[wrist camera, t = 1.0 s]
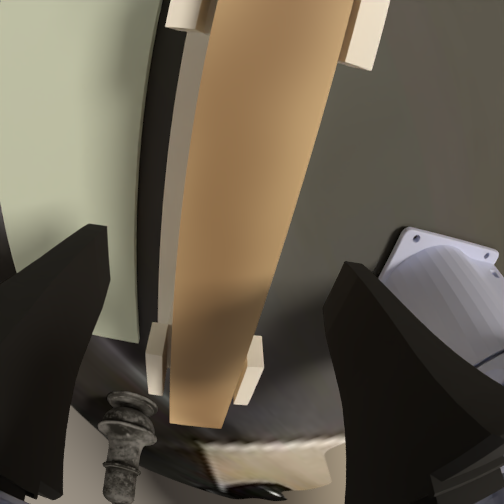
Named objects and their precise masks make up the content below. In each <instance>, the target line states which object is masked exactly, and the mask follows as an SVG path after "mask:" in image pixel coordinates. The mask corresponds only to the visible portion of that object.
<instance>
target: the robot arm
mask: <svg viewBox="0 0 504 504" xmlns="http://www.w3.org/2000/svg"><path fill="white" fill-rule="evenodd" d="M416 235H417V237H416V238H414V236H416ZM413 238H414V239H413ZM498 256H499V253H498V252H497V250H495V249H492V248H489V247H485V246H482V245H478V244H475V243H471V242H467V241H464V240H460V239H456V238H452V237H449V236H445V235H441V234H437V233H433V232H429V231H425V230H421V229H417V228H413V227H407V228H405V229H404V230H403V231H402V232H401V234H400V236H399V238H398V240H397V242H396V244H395V246H394V248H393V250H392V252H391V254H390V256H389V258H388V260H387V262H386V264H385V266H384V268H383V270H382V272H381V273H380V275H379V277H378V278H377V277H376V276H375V275H374V274H373V273H372V272H371V271H370V270H369V269H367V268H366V267H365V266H364V265H363V264H360V263H353V262H347V261H345V262H344V264H343V266H342V269H341V271H340V273H339V275H338V277H337V279H336V282H335V284H334V286H333V288H332V290H331V292H330V294H329V296H328V298H327V300H326V303H325V305H324V307H323V314H324V324H325V332H326V338H327V342H328V346H329V351H330V355H331V359H332V363H333V367H334V371H335V375H336V379H337V383H338V387H339V391H340V396H341V401H342V407H343V417H344V427H345V441H346V491H345V504H504V277H503V276H502V275H501V273H500V272H499V271H498V270H497V268H496V267H495V266H494V264H495V262H496V260H497V259H498ZM110 280H111V277H110V265H109V251H108V233H107V226H103V225H96V224H87V225H85V226H84V227H82V228H80V229H79V230H77V231H76V232H75V233H73V234H72V235H70V236H69V237H67V238H66V239H65V240H63V241H62V242H61V243H59V244H58V245H56V246H55V247H54V248H52V249H51V250H49V251H48V252H47V253H45V254H44V255H43V256H41V257H40V258H38V259H37V260H35V261H34V262H32V263H31V264H30V265H28V266H27V267H25V268H24V269H22V270H21V271H19V272H18V273H17V274H15V275H14V276H12V277H11V278H9V279H8V280H6V281H5V282H3V283H1V284H0V504H29V503H27V502H24V499H25V495H26V496H29V497H31V498H34V499H37V497H38V495H40V496H43V497H46V498H49V499H51V500H56V499H58V498H60V497H61V496H62V495H63V459H64V448H65V438H66V429H67V423H68V415H69V410H70V404H71V399H72V395H73V390H74V385H75V381H76V377H77V374H78V370H79V367H80V364H81V362H82V359H83V356H84V354H85V351H86V348H87V346H88V343H89V341H90V338H91V336H92V333H93V331H94V328H95V326H96V323H97V321H98V318H99V316H100V313H101V311H102V308H103V305H104V302H105V298H106V295H107V291H108V288H109V284H110Z"/></svg>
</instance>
